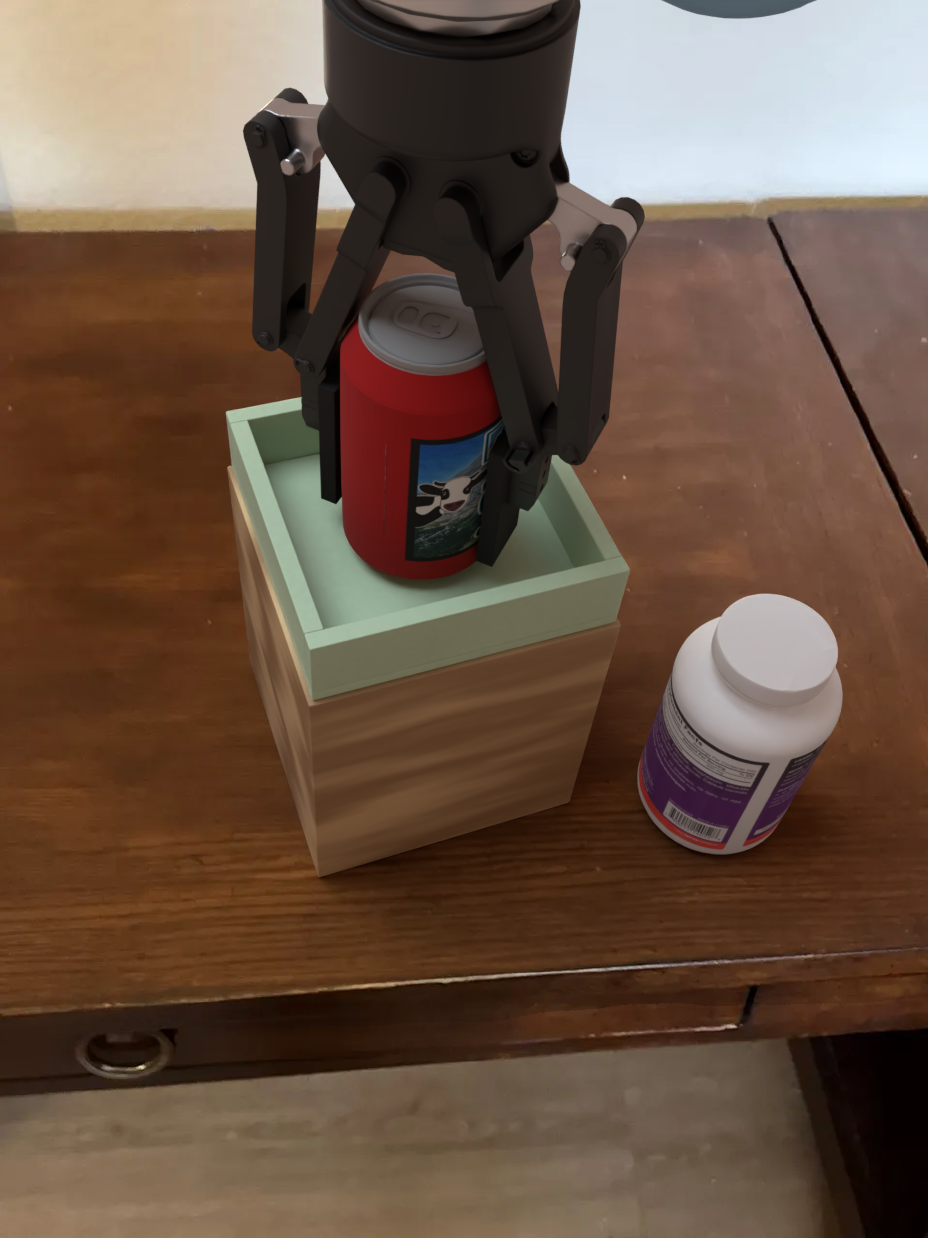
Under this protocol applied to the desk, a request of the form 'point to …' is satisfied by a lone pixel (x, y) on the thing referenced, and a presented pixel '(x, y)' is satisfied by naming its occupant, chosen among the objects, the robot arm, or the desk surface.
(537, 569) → the tub
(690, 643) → the pill bottle
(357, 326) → the beverage can
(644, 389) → the desk surface
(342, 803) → the stand
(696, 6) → the robot arm
